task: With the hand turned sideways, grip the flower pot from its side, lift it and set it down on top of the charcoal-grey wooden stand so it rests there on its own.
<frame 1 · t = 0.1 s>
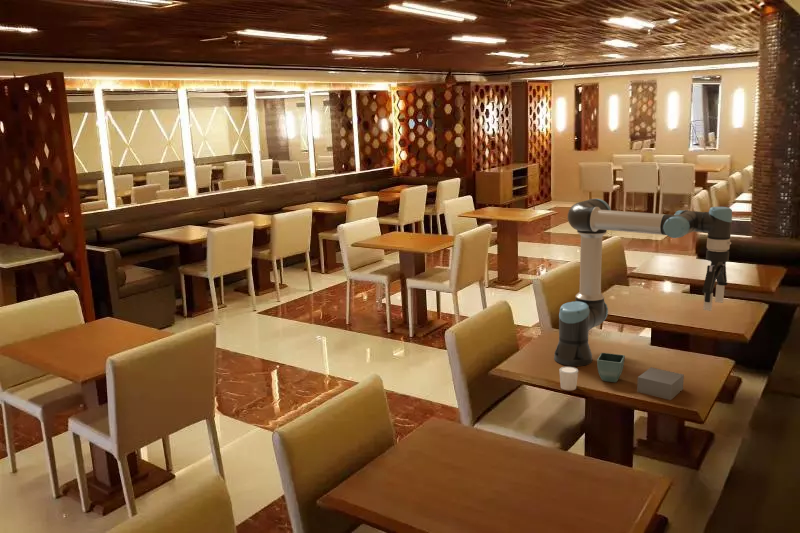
hand: (713, 306, 247), 28 cm above the table, tool pointing down, fingers open, 13 cm apart
flower pot: (610, 380, 254), on the table
shot glass: (568, 387, 248), on the table
charcoal stand: (660, 391, 242), on the table
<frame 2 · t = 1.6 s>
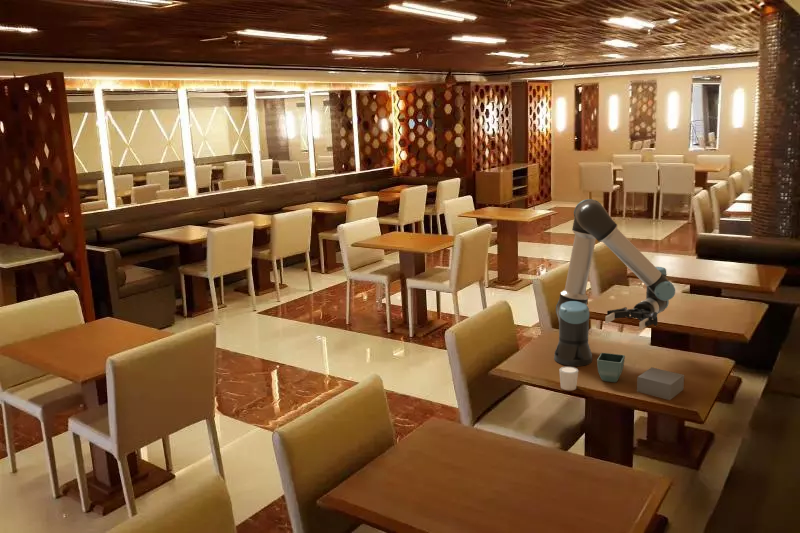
hand: (622, 322, 256), 20 cm above the table, tool horizontal, fingers open, 13 cm apart
nothing on the table moved.
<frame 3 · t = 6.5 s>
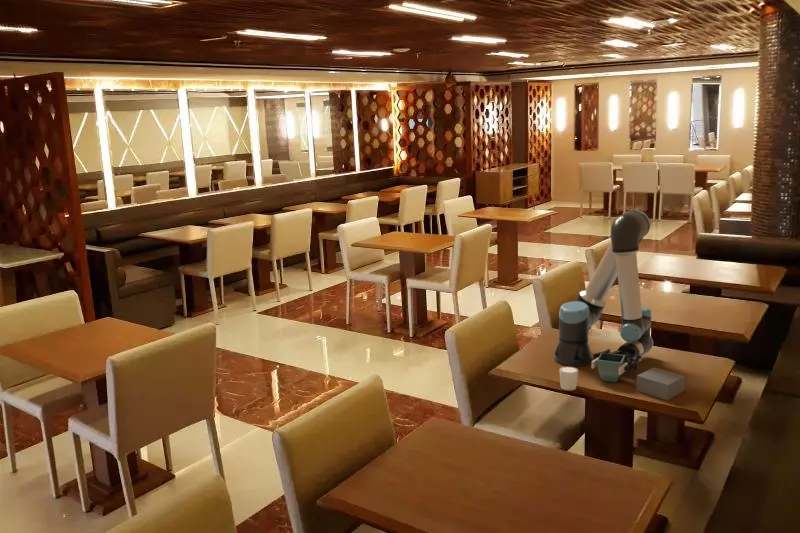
hand: (605, 368, 249), 6 cm above the table, tool horizontal, fingers closed on flower pot, 10 cm apart
flower pot: (610, 380, 254), on the table, touching gripper
everything else where it was.
when the fingers open (13 cm above the table, at t = 11.2 s): flower pot drops 2 cm, point 5 cm above the table.
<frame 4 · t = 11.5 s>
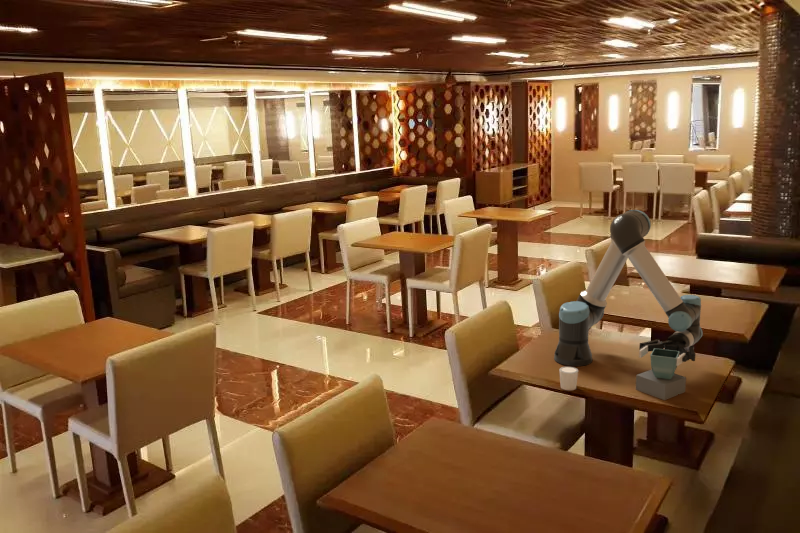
hand: (658, 358, 237), 13 cm above the table, tool horizontal, fingers open, 13 cm apart
flower pot: (663, 377, 240), point 5 cm above the table
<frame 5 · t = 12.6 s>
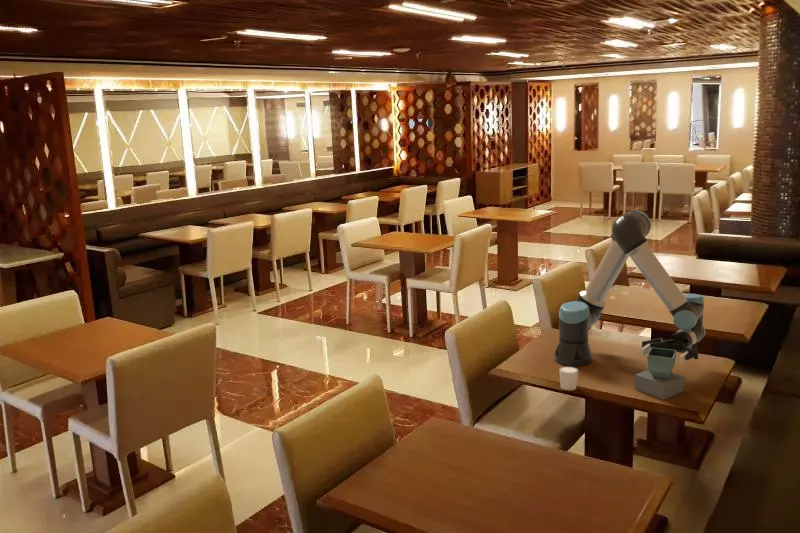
hand: (660, 356, 238), 14 cm above the table, tool horizontal, fingers open, 13 cm apart
flower pot: (660, 376, 241), point 5 cm above the table, touching charcoal stand
charcoal stand: (658, 391, 243), on the table, touching flower pot
everything else where it was.
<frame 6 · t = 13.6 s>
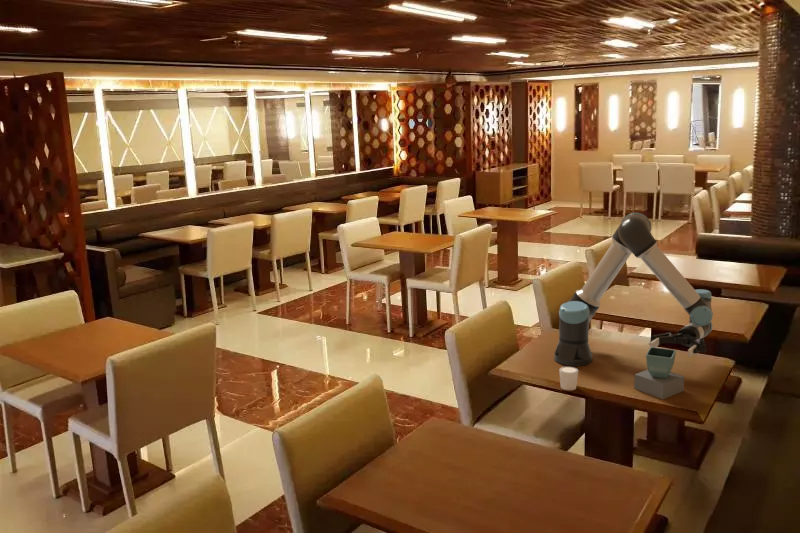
hand: (669, 349, 244), 14 cm above the table, tool horizontal, fingers open, 13 cm apart
flower pot: (659, 376, 241), point 5 cm above the table
charcoal stand: (658, 390, 243), on the table
everything else where it was.
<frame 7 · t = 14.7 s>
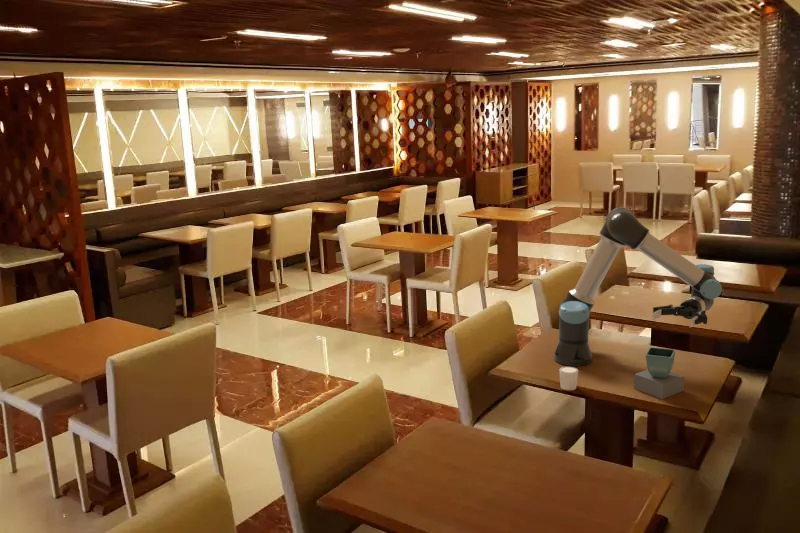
hand: (671, 320, 249), 23 cm above the table, tool horizontal, fingers open, 13 cm apart
flower pot: (659, 376, 241), point 5 cm above the table, touching charcoal stand
charcoal stand: (658, 390, 243), on the table, touching flower pot
everything else where it was.
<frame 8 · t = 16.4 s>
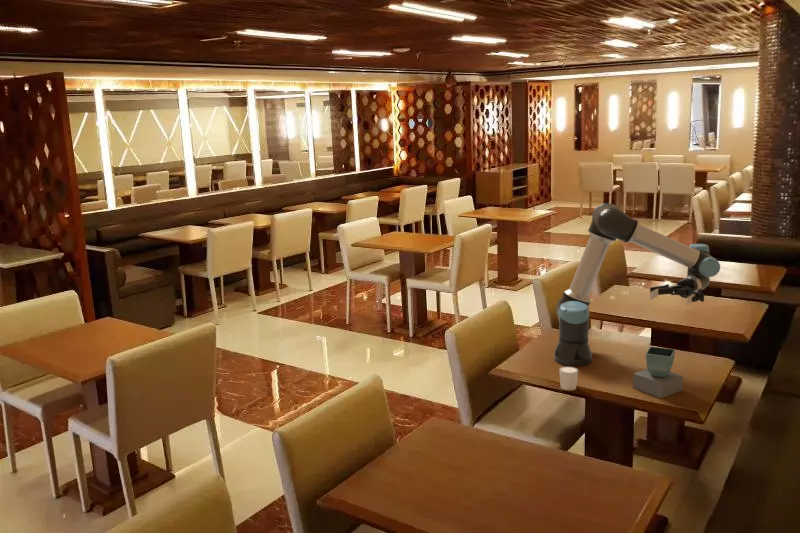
hand: (668, 298, 251), 30 cm above the table, tool horizontal, fingers open, 13 cm apart
nothing on the table moved.
at the end: flower pot inside the target area on the charcoal stand (0.5 cm from its centre), point 5.8 cm above the charcoal stand's base; flower pot tilted 1°; the gripper is holding nothing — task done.
